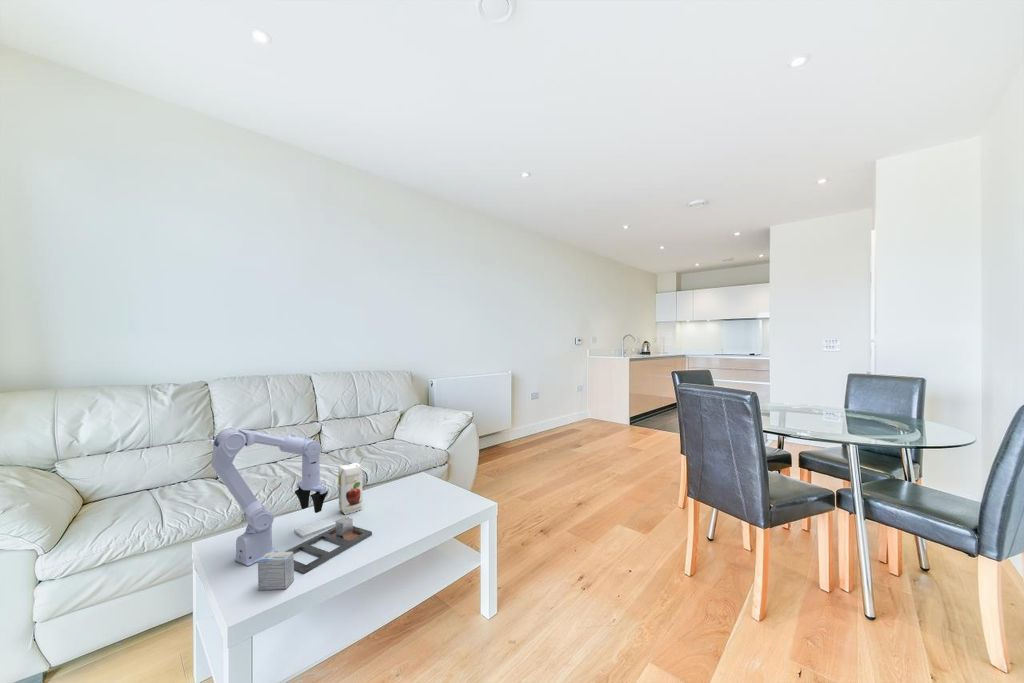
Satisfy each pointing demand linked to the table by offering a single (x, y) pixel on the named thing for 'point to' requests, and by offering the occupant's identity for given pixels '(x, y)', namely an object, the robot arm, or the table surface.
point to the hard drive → (315, 527)
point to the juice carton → (350, 488)
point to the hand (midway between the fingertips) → (311, 510)
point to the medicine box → (275, 571)
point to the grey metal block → (344, 527)
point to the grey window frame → (324, 555)
